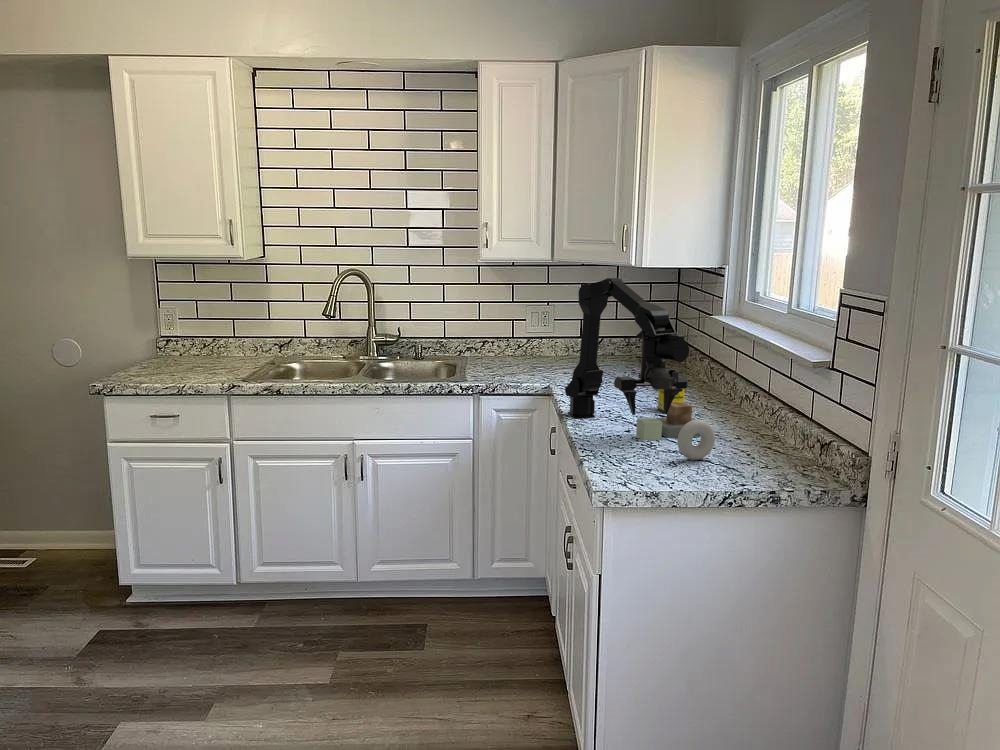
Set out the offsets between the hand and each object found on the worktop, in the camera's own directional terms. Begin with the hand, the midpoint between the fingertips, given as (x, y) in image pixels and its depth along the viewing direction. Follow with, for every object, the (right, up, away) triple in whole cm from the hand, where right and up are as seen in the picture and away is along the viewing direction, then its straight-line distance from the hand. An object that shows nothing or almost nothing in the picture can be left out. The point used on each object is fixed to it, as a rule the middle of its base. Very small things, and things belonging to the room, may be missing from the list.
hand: (649, 414), depth 204 cm
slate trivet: (+10, -5, +8) cm, 14 cm away
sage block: (0, -6, +1) cm, 7 cm away
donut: (+8, -10, -18) cm, 22 cm away
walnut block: (+10, -3, +8) cm, 13 cm away
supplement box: (+13, -1, +31) cm, 34 cm away
